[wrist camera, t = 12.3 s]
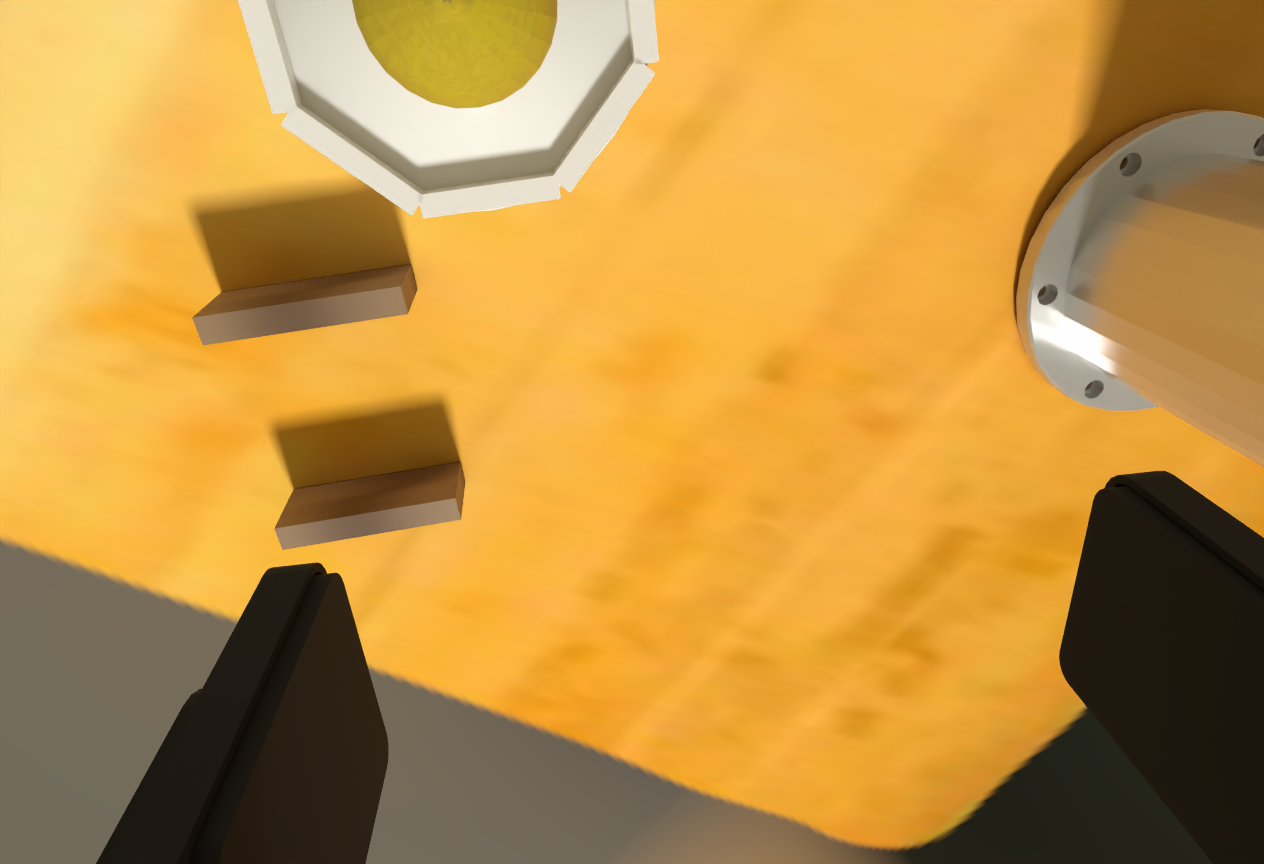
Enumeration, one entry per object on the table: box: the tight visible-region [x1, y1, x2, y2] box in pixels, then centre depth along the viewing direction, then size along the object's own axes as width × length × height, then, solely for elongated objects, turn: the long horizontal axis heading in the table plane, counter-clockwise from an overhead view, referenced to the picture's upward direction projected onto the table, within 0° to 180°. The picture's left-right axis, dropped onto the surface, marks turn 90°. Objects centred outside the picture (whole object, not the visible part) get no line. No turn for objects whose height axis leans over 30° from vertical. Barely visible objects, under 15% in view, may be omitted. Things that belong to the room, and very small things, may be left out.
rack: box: [193, 264, 465, 550], centre depth 31 cm, size 7×10×3 cm
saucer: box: [238, 0, 659, 219], centre depth 26 cm, size 13×13×2 cm
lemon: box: [352, 0, 557, 108], centre depth 22 cm, size 6×6×8 cm
